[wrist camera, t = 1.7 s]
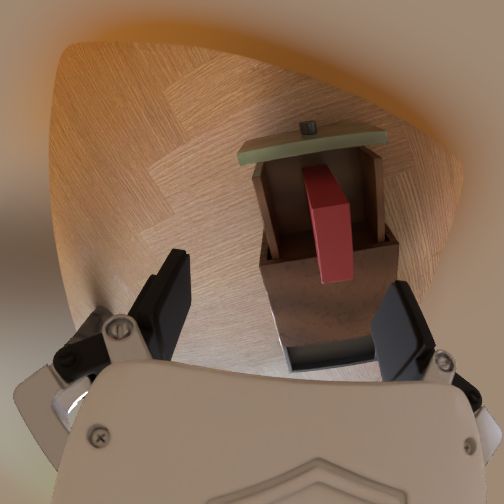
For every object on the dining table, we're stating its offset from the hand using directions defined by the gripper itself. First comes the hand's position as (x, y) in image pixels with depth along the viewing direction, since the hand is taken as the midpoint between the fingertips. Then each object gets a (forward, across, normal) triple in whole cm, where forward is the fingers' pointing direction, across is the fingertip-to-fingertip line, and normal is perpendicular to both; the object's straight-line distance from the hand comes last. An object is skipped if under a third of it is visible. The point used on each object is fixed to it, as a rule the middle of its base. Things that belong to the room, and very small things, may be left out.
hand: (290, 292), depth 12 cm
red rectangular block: (+20, -4, +2) cm, 20 cm away
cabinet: (+22, -8, +12) cm, 26 cm away
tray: (+22, -14, +30) cm, 39 cm away
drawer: (+21, -4, +1) cm, 21 cm away
